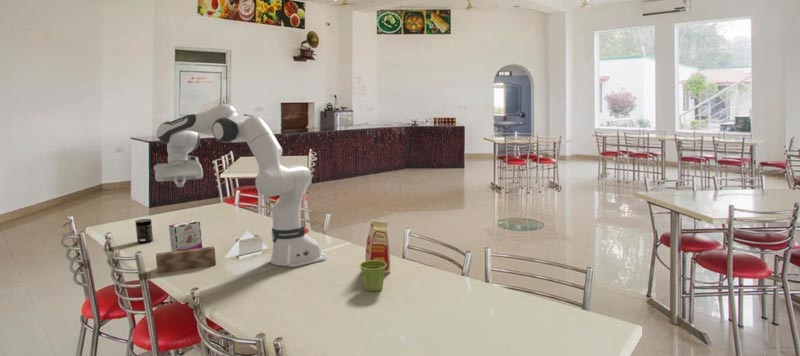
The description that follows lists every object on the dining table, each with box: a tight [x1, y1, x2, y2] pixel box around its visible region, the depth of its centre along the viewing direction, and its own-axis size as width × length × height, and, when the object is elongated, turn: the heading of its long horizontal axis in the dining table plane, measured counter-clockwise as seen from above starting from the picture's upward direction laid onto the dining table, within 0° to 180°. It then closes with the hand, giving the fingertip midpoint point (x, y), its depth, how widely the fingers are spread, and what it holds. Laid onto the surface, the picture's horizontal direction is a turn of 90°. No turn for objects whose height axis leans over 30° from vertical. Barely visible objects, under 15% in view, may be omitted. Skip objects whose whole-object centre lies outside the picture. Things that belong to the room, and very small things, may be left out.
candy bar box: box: [168, 219, 203, 252], centre depth 197 cm, size 11×5×16 cm, turn 145°
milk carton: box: [365, 219, 391, 274], centre depth 184 cm, size 9×9×20 cm
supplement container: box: [135, 218, 154, 244], centre depth 226 cm, size 7×7×10 cm
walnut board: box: [155, 246, 217, 274], centre depth 189 cm, size 21×3×7 cm, turn 115°
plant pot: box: [358, 260, 387, 292], centre depth 166 cm, size 9×9×9 cm
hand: (180, 186), depth 218 cm, fingers closed
